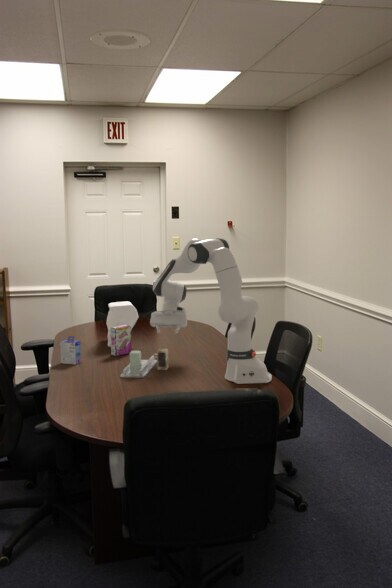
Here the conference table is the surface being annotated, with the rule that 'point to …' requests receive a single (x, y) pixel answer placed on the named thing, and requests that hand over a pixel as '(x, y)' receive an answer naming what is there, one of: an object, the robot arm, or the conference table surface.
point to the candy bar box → (120, 340)
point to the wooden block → (162, 359)
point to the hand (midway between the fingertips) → (167, 332)
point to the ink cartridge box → (70, 351)
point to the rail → (136, 375)
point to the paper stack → (120, 316)
